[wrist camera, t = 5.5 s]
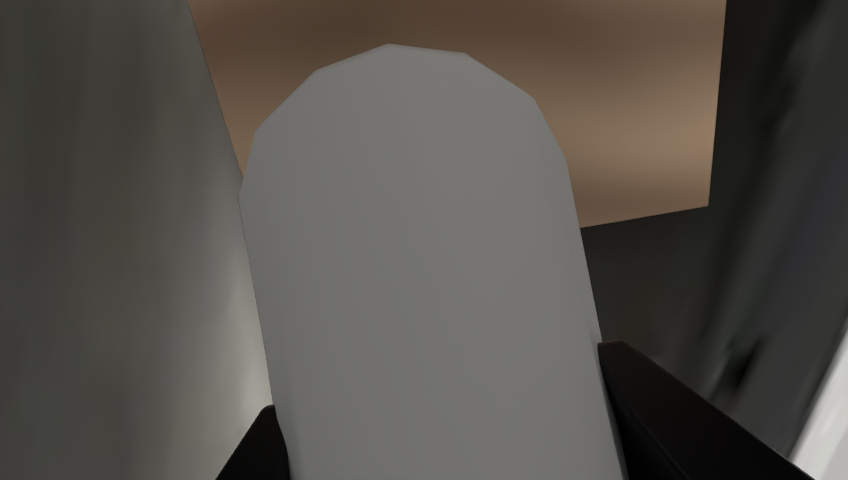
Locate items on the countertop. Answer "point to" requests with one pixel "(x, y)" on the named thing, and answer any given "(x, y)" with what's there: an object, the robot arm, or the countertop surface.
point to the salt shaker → (424, 279)
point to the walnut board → (511, 77)
